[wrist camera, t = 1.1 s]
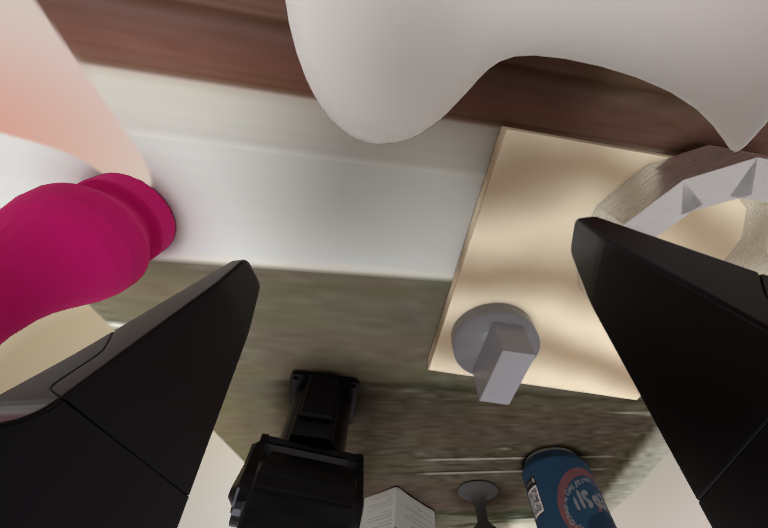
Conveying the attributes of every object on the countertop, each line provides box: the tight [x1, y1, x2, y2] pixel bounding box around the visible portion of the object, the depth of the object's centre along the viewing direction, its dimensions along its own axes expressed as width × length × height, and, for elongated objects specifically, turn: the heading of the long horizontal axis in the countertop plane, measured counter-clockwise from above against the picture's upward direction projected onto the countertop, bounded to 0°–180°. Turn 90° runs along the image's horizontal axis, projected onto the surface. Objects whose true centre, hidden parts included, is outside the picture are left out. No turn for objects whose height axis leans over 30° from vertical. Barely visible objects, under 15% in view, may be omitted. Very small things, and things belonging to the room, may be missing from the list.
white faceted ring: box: [576, 145, 768, 299], centre depth 21 cm, size 12×12×3 cm
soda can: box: [522, 447, 617, 528], centre depth 32 cm, size 7×7×12 cm
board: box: [428, 126, 746, 400], centre depth 25 cm, size 20×19×1 cm
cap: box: [451, 303, 540, 405], centre depth 25 cm, size 6×6×4 cm
